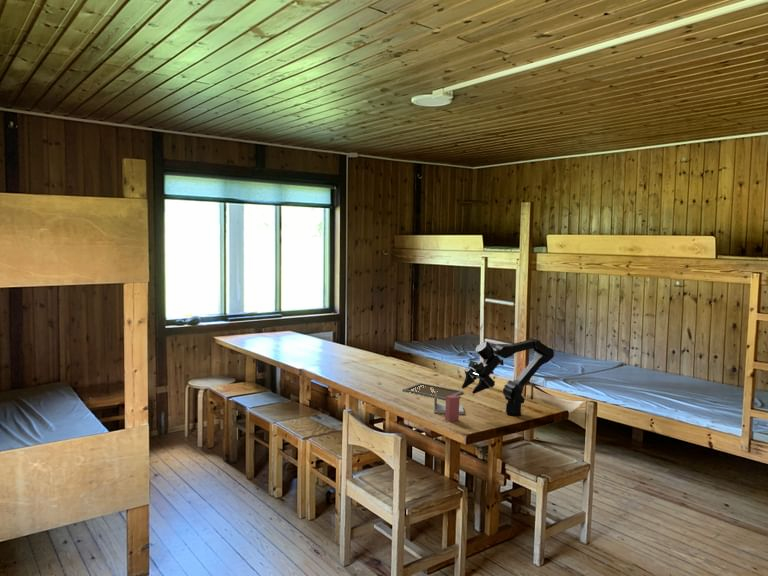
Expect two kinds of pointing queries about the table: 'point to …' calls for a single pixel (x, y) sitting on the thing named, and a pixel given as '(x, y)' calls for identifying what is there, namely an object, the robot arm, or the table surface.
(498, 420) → the table surface
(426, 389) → the gray perforated panel
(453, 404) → the tall pink rectangular prism
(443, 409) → the shelf
